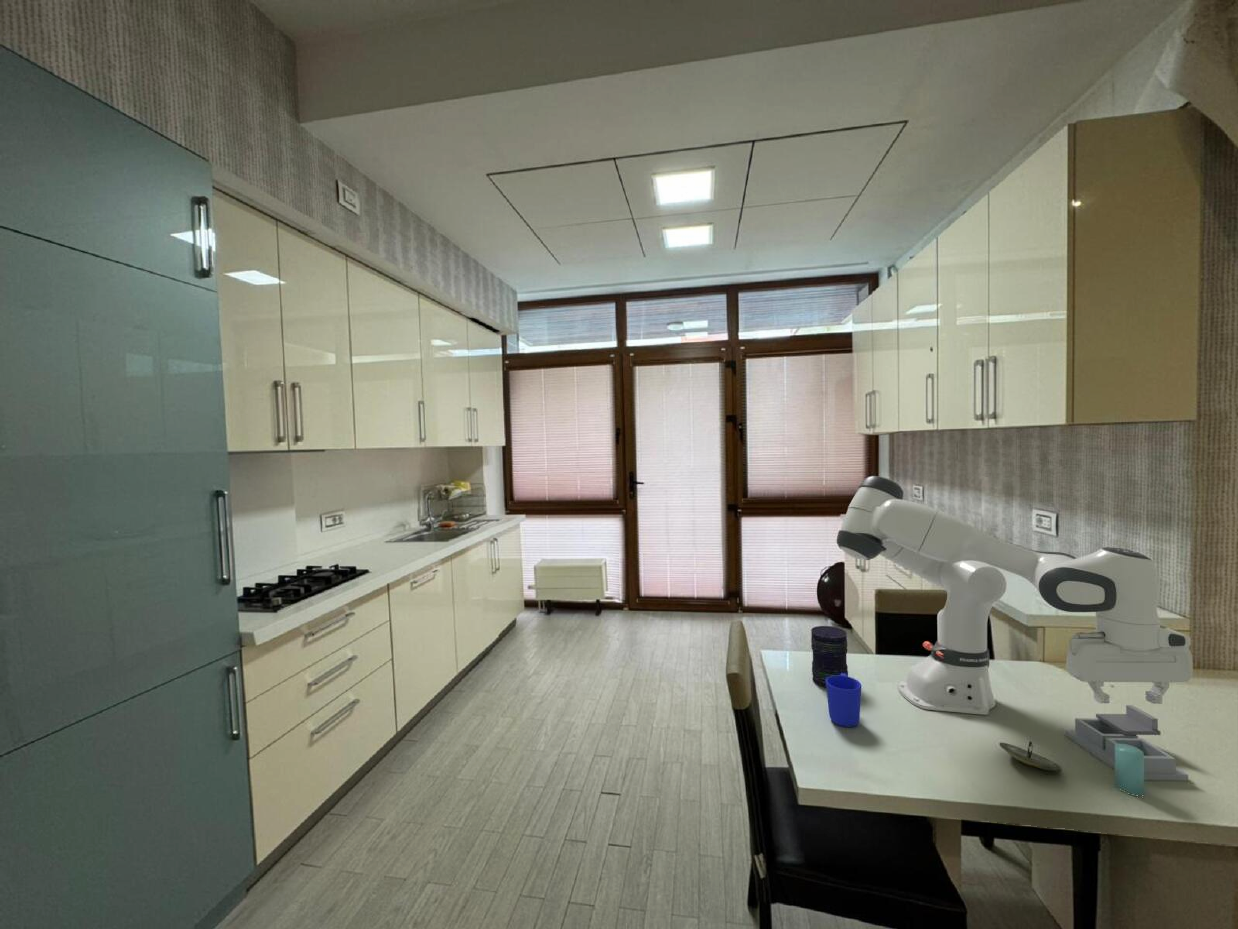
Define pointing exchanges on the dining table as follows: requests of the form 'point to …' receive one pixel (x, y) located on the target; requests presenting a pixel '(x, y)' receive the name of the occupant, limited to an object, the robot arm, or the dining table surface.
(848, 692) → the mug
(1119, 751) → the jaw peg
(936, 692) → the robot arm
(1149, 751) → the housing
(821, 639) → the storage jar
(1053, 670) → the dining table surface
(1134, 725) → the slide lid
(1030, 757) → the lid
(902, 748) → the dining table surface
